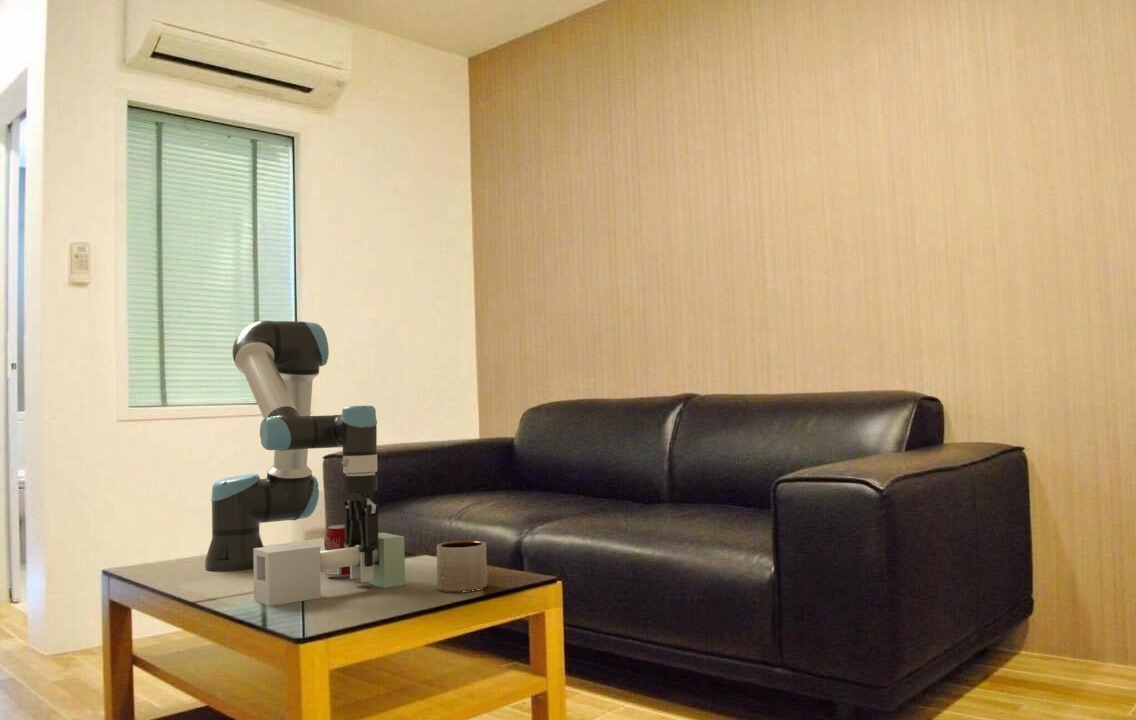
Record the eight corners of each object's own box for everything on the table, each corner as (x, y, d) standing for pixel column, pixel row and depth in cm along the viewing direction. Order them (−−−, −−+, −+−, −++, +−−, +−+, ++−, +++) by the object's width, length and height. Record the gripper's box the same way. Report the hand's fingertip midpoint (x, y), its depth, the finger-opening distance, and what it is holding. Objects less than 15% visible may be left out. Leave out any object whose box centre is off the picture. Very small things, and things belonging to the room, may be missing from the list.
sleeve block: (253, 599, 187) (253, 548, 188) (304, 591, 194) (303, 542, 194) (268, 606, 180) (268, 552, 181) (320, 597, 187) (320, 546, 187)
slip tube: (296, 572, 191) (296, 551, 191) (379, 561, 203) (379, 541, 203) (304, 575, 187) (304, 553, 187) (388, 563, 199) (388, 542, 199)
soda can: (338, 580, 206) (337, 528, 207) (320, 577, 210) (319, 526, 211) (361, 575, 212) (360, 525, 212) (343, 573, 216) (342, 523, 217)
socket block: (364, 582, 203) (364, 535, 204) (384, 579, 206) (383, 532, 207) (384, 588, 195) (383, 539, 196) (405, 584, 198) (404, 536, 199)
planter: (444, 595, 185) (443, 549, 186) (431, 586, 195) (430, 543, 196) (494, 590, 190) (493, 544, 190) (478, 581, 200) (477, 538, 200)
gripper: (328, 474, 203) (329, 576, 202) (361, 476, 190) (363, 587, 188) (358, 471, 208) (360, 572, 207) (393, 474, 194) (395, 582, 193)
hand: (361, 579), depth 197 cm, fingers closed on slip tube, 5 cm apart
